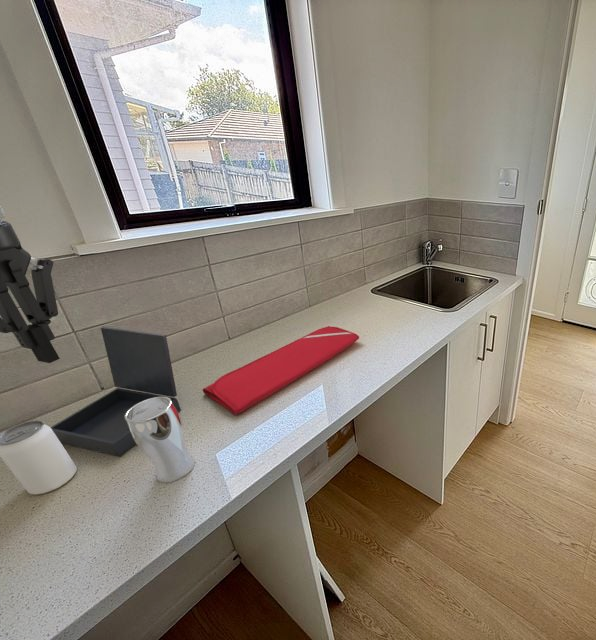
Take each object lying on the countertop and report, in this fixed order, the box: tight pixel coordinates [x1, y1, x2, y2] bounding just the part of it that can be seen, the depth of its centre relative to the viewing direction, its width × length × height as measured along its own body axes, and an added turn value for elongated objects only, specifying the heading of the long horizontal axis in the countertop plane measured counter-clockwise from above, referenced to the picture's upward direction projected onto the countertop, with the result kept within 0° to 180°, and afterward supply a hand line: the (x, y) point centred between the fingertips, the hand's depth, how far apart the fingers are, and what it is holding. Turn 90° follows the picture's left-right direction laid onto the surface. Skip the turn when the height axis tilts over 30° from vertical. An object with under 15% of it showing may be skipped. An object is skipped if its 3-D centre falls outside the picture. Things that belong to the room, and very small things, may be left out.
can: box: [0, 420, 78, 495], centre depth 59 cm, size 6×6×12 cm
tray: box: [49, 387, 182, 458], centre depth 74 cm, size 14×17×4 cm
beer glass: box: [125, 396, 196, 483], centre depth 61 cm, size 7×7×15 cm
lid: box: [100, 326, 178, 398], centre depth 77 cm, size 15×17×1 cm
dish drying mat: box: [202, 325, 360, 416], centre depth 95 cm, size 16×41×4 cm, turn 146°
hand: (49, 359), depth 59 cm, fingers closed
